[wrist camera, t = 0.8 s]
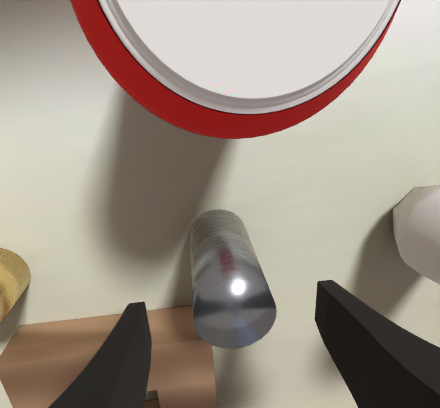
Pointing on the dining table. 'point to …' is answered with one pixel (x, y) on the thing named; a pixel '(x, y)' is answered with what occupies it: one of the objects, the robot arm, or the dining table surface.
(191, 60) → the beverage can
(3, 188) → the dining table surface
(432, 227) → the salt shaker
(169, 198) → the dining table surface
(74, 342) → the hole block
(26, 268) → the short pin
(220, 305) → the long pin
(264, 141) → the dining table surface
